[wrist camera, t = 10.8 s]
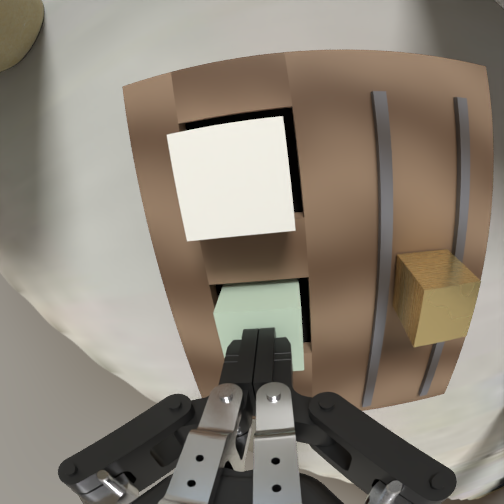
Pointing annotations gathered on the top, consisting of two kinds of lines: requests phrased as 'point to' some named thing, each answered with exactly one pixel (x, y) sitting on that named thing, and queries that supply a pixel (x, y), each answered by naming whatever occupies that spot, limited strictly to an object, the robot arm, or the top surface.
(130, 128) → the switch panel
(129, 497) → the robot arm
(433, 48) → the top surface
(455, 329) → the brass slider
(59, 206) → the top surface
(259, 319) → the sage green button
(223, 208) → the off-white button
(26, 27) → the plant pot
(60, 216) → the top surface
